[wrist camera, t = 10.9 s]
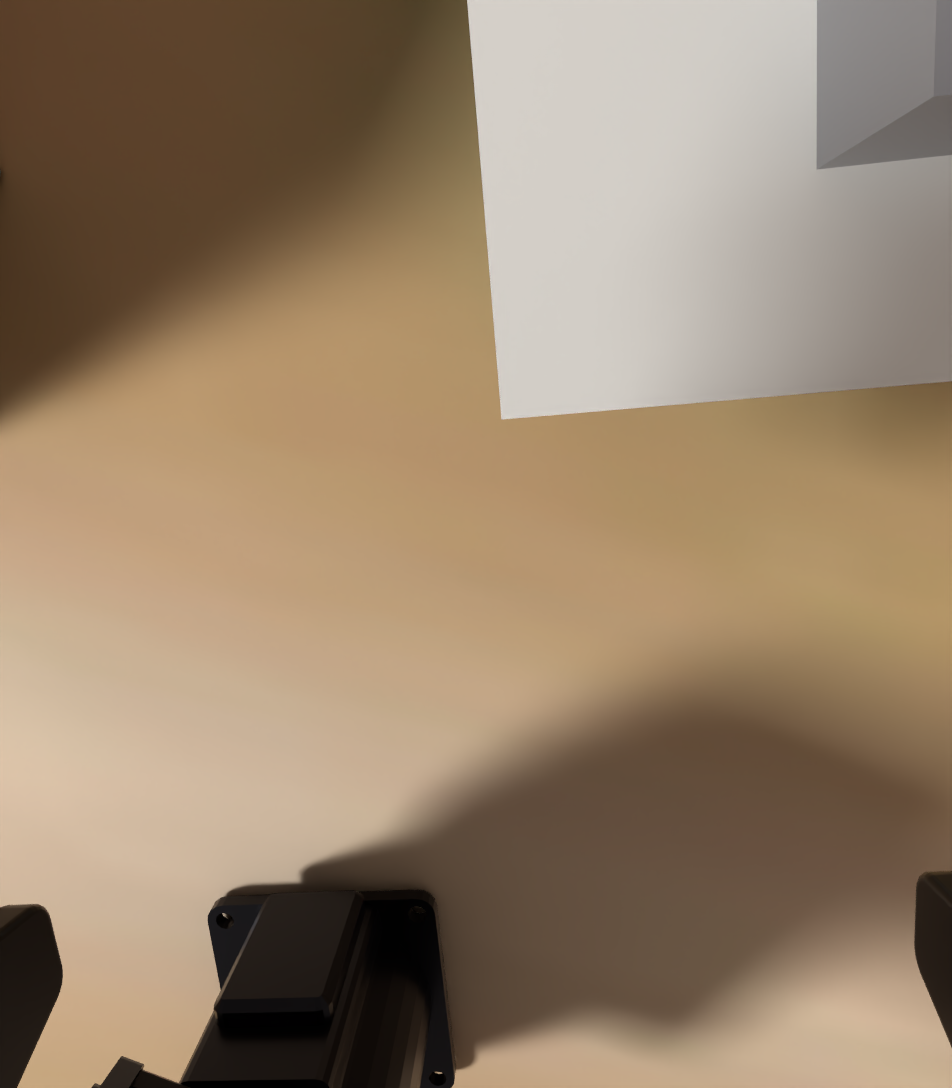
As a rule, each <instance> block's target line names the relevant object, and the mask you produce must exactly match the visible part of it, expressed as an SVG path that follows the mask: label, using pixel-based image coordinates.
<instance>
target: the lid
mask: <svg viewBox="0 0 952 1088" xmlns="http://www.w3.org/2000/svg"><path fill="white" fill-rule="evenodd" d="M467 4H468V17H469V29H470V41H471V53H472V65H473V77H474V89H475V101H476V114H477V126H478V138H479V150H480V162H481V174H482V186H483V198H484V211H485V223H486V235H487V247H488V259H489V271H490V283H491V295H492V308H493V320H494V332H495V344H496V356H497V368H498V380H499V392H500V405H501V417H502V419H512V418H524V417H536V416H548V415H560V414H571V413H583V412H595V411H607V410H618V409H630V408H642V407H654V406H666V405H677V404H689V403H701V402H713V401H725V400H736V399H748V398H760V397H772V396H784V395H795V394H807V393H819V392H831V391H843V390H854V389H866V388H878V387H890V386H901V385H913V384H925V383H937V382H949V381H952V0H467Z"/></svg>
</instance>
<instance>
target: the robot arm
mask: <svg viewBox="0 0 952 1088" xmlns="http://www.w3.org/2000/svg"><path fill="white" fill-rule="evenodd" d="M412 907H421V908H422V909H424V910H425V912H423V913H417V912H415V911H413V910H412V909H411V908H412ZM222 913H226V914H229V915H230V916H232V918H233V919H227V918H225V917H224V916H223V914H222ZM208 925H209V930H210V936H211V941H212V946H213V951H214V957H215V962H216V967H217V972H218V978H219V983H220V988H221V991H220V993H219V995H218V997H217V999H216V1002H215V1004H214V1011H213V1014H212V1016H211V1018H210V1020H209V1022H208V1024H207V1026H206V1028H205V1030H204V1032H203V1034H202V1036H201V1038H200V1040H199V1043H198V1045H197V1047H196V1049H195V1051H194V1053H193V1055H192V1057H191V1059H190V1061H189V1063H188V1065H187V1067H186V1069H185V1071H184V1074H183V1076H182V1078H181V1080H180V1082H179V1083H177V1082H174V1081H172V1080H169V1079H166V1078H164V1077H161V1076H158V1075H156V1074H153V1073H151V1072H148V1071H145V1070H143V1067H144V1064H142V1063H139V1062H136V1061H134V1060H131V1059H128V1058H126V1057H123V1056H121V1057H120V1059H119V1060H118V1062H117V1063H116V1064H115V1066H114V1067H113V1069H112V1070H111V1072H110V1073H109V1074H108V1076H107V1077H106V1079H105V1080H104V1082H103V1083H102V1084H101V1085H98V1084H96V1083H95V1084H94V1085H93V1086H92V1088H451V1087H452V1086H453V1084H454V1079H455V1070H456V1064H455V1055H454V1047H453V1038H452V1030H451V1021H450V1013H449V1004H448V996H447V987H446V979H445V970H444V961H443V953H442V944H441V936H440V927H439V919H438V910H437V904H436V901H435V898H434V897H433V896H432V895H431V894H430V893H428V892H426V891H424V890H392V891H364V892H356V891H328V892H300V893H274V894H271V895H252V896H227V897H222V898H220V899H219V900H217V901H216V902H215V904H214V906H213V908H212V909H211V911H210V913H209V915H208ZM914 944H915V955H916V960H917V964H918V967H919V970H920V973H921V975H922V978H923V980H924V983H925V985H926V987H927V990H928V992H929V995H930V997H931V999H932V1002H933V1004H934V1006H935V1009H936V1011H937V1014H938V1016H939V1018H940V1021H941V1023H942V1025H943V1028H944V1030H945V1033H946V1035H947V1037H948V1040H949V1042H950V1045H951V1047H952V871H940V872H925V873H923V874H922V875H921V876H920V877H919V879H918V882H917V886H916V910H915V941H914ZM62 978H63V970H62V964H61V960H60V956H59V952H58V947H57V943H56V939H55V935H54V931H53V927H52V923H51V918H50V915H49V913H48V911H47V910H46V909H45V908H44V907H43V906H41V905H39V904H27V905H7V906H3V907H0V1088H17V1086H18V1084H19V1082H20V1080H21V1078H22V1075H23V1073H24V1071H25V1069H26V1067H27V1064H28V1062H29V1060H30V1058H31V1055H32V1053H33V1051H34V1049H35V1047H36V1044H37V1042H38V1040H39V1038H40V1036H41V1033H42V1031H43V1029H44V1027H45V1025H46V1022H47V1020H48V1018H49V1016H50V1013H51V1011H52V1009H53V1007H54V1005H55V1002H56V1000H57V998H58V995H59V993H60V989H61V985H62ZM435 1071H438V1072H442V1073H443V1074H437V1073H434V1072H435Z"/></svg>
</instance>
